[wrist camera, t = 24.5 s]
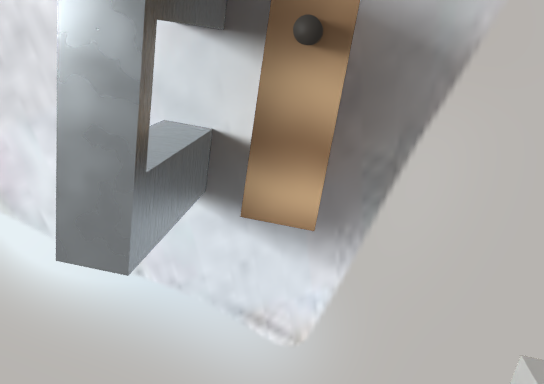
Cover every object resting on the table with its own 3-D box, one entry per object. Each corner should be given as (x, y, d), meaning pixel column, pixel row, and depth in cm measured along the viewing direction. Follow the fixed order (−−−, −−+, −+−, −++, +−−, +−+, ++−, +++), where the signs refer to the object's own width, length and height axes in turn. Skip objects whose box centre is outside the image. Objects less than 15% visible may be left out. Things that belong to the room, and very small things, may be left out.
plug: (291, 1, 33) (267, -22, 22) (354, 11, 33) (362, -8, 22) (264, 173, 37) (233, 228, 26) (320, 184, 37) (312, 244, 26)
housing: (153, 181, 39) (46, 258, 25) (171, -58, 33) (46, -136, 19) (205, 191, 38) (128, 275, 24) (232, -49, 33) (152, -121, 19)
